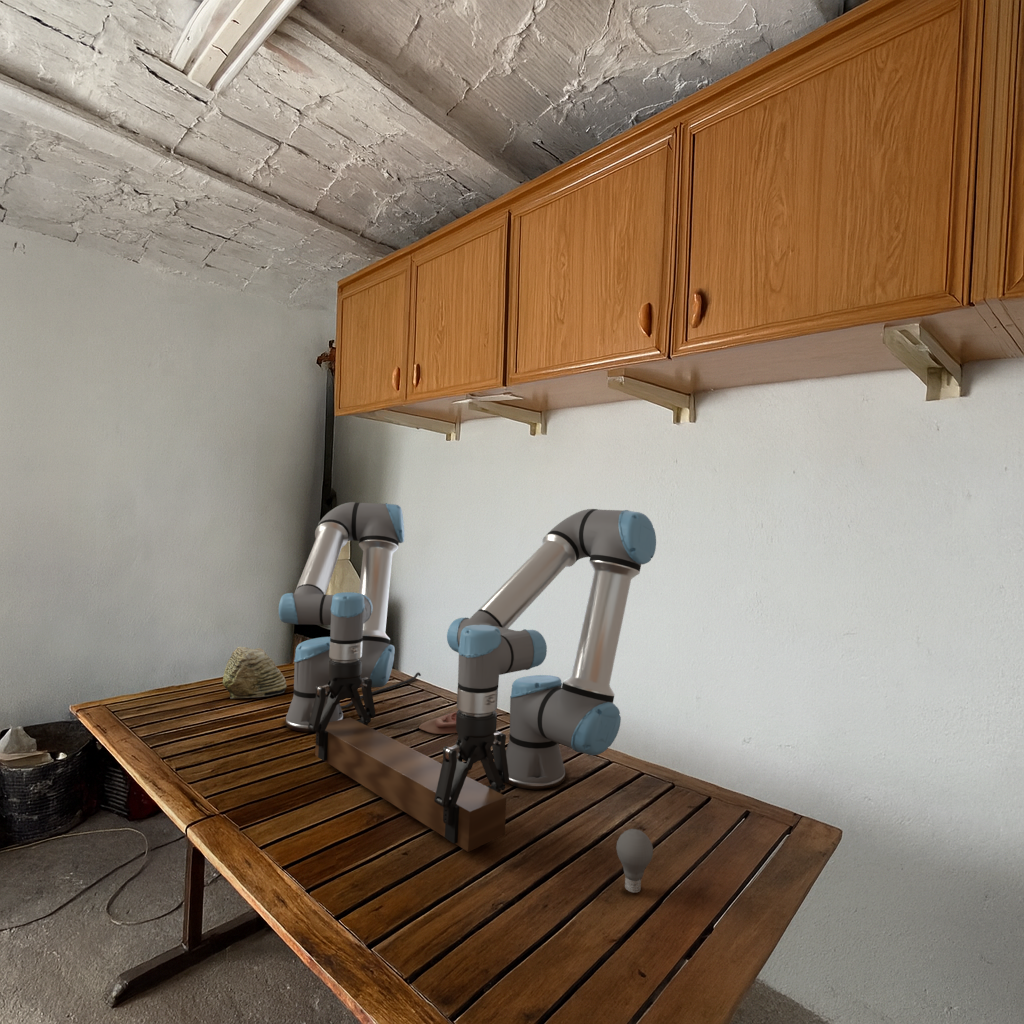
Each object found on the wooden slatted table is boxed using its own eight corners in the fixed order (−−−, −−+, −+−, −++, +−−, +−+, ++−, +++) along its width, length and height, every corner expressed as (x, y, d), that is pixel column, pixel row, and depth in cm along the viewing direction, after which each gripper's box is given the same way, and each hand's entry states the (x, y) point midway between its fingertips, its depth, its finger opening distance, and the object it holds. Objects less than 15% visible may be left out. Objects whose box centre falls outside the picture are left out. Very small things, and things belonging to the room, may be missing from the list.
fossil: (218, 695, 195) (220, 647, 195) (278, 685, 208) (279, 640, 207) (228, 703, 189) (230, 653, 188) (289, 692, 201) (290, 645, 201)
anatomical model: (415, 716, 173) (429, 704, 184) (414, 731, 173) (428, 717, 184) (462, 722, 170) (473, 709, 181) (461, 737, 170) (472, 722, 181)
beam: (315, 755, 149) (316, 725, 149) (349, 746, 156) (350, 717, 156) (468, 852, 111) (469, 811, 111) (504, 834, 118) (506, 796, 118)
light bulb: (610, 879, 108) (613, 822, 108) (644, 879, 109) (647, 822, 109) (619, 902, 102) (622, 840, 102) (655, 901, 103) (658, 840, 103)
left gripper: (310, 669, 139) (306, 771, 139) (393, 655, 155) (389, 747, 155) (294, 662, 144) (290, 760, 145) (376, 649, 160) (372, 738, 160)
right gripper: (443, 729, 107) (437, 861, 107) (531, 704, 122) (526, 819, 123) (416, 717, 112) (411, 843, 112) (504, 694, 128) (499, 805, 128)
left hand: (341, 753), depth 150 cm, fingers closed on beam, 9 cm apart
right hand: (471, 830), depth 117 cm, fingers closed on beam, 9 cm apart
